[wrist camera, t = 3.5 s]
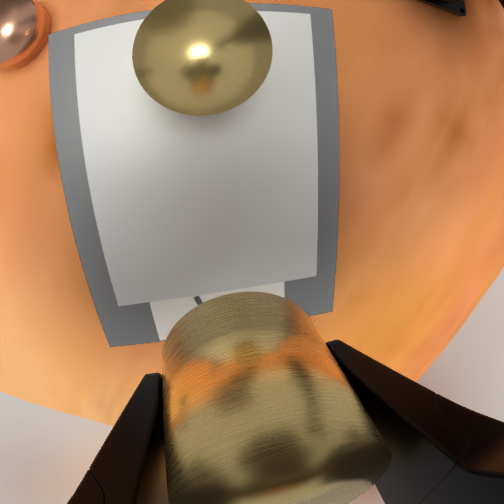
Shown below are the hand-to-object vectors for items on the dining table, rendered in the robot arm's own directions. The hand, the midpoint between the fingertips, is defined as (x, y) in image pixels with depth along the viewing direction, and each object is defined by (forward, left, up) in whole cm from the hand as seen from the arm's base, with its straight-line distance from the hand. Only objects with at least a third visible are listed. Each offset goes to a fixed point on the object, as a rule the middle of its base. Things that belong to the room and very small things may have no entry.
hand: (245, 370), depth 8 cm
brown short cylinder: (+10, -14, -13) cm, 22 cm away
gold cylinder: (0, 0, 0) cm, 0 cm away
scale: (0, -3, -13) cm, 13 cm away
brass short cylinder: (0, -9, -9) cm, 12 cm away
